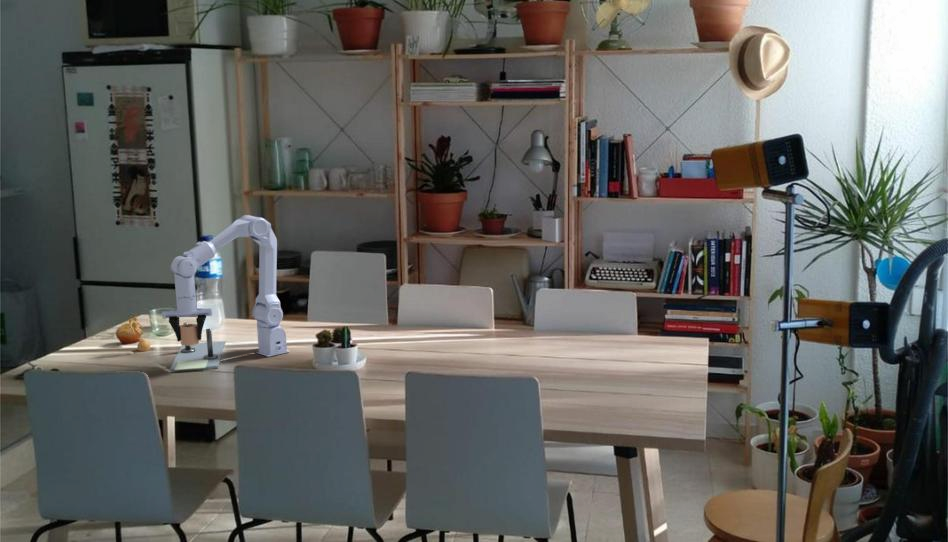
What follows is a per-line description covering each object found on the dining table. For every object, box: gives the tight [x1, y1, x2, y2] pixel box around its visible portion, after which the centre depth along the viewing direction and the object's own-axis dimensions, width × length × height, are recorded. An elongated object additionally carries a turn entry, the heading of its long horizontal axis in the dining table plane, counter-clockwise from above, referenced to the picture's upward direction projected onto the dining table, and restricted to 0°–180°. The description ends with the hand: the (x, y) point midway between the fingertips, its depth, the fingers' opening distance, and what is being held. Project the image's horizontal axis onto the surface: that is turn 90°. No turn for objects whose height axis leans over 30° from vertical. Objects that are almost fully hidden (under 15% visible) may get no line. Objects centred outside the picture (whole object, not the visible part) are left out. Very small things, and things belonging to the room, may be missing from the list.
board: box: [169, 340, 227, 373], centre depth 322 cm, size 30×14×1 cm, turn 9°
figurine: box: [128, 316, 151, 352], centre depth 328 cm, size 8×6×12 cm
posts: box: [181, 322, 218, 360], centre depth 321 cm, size 17×4×9 cm, turn 47°
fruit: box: [115, 322, 142, 346], centre depth 341 cm, size 8×8×8 cm
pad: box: [174, 359, 208, 370], centre depth 310 cm, size 9×9×1 cm
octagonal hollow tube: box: [179, 323, 200, 346], centre depth 308 cm, size 5×5×6 cm
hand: (189, 340), depth 308 cm, fingers closed on octagonal hollow tube, 5 cm apart
